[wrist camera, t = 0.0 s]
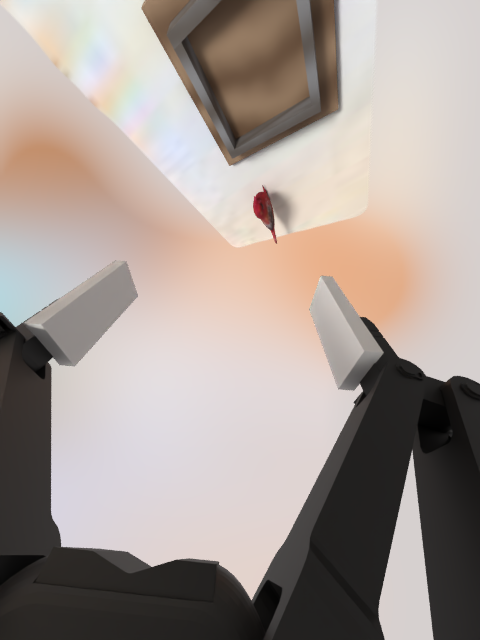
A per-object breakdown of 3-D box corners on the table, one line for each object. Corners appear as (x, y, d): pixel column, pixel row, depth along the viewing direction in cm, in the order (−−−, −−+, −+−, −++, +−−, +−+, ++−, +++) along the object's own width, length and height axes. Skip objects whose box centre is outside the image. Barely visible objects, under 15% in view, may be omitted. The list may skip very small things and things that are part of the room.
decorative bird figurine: (263, 164, 40) (260, 203, 37) (282, 224, 55) (281, 254, 52) (250, 169, 41) (246, 207, 38) (272, 226, 56) (270, 256, 54)
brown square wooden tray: (143, 3, 23) (136, 20, 22) (323, -240, 13) (325, -228, 12) (229, 162, 40) (228, 175, 39) (337, 104, 30) (339, 120, 29)
